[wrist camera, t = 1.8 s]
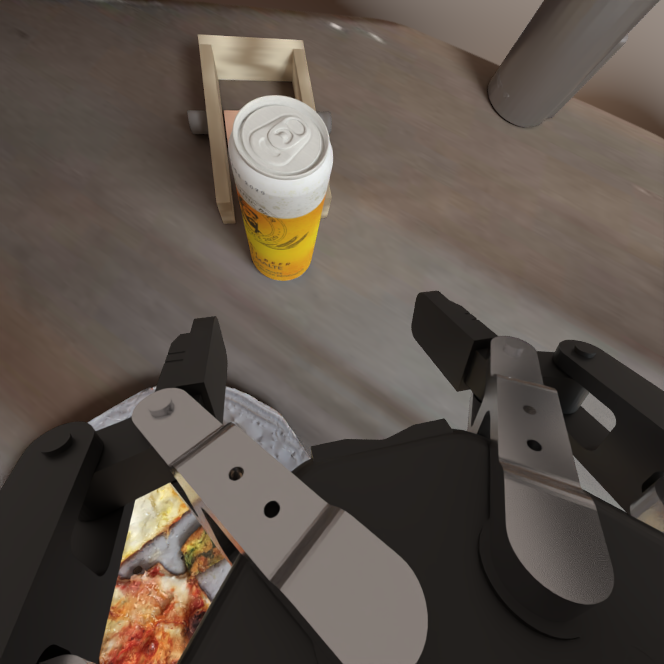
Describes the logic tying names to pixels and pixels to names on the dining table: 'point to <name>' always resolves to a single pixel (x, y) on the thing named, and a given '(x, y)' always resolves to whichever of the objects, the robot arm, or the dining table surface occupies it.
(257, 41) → the wooden stick frame
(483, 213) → the dining table surface
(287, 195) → the beer can
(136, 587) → the food plate
